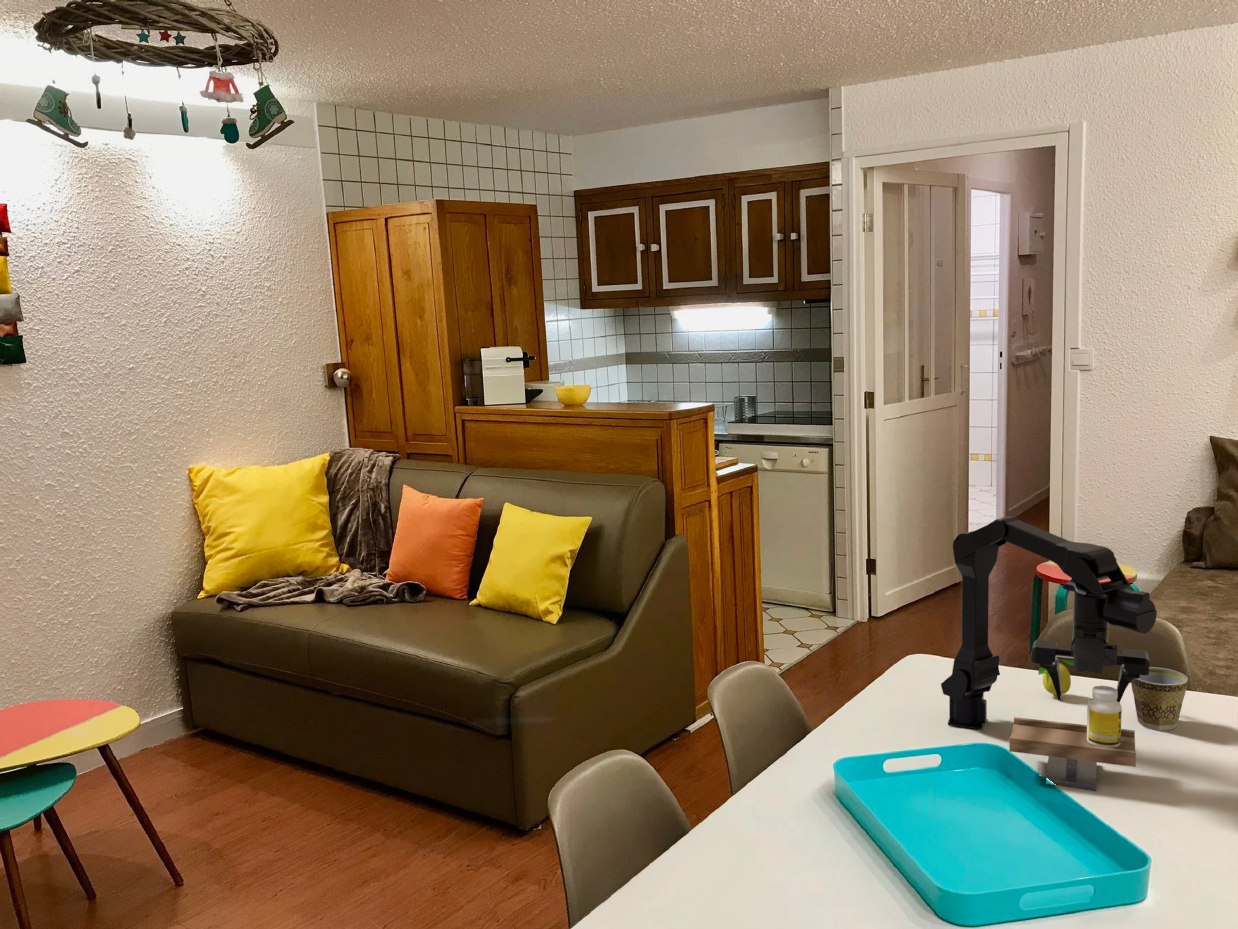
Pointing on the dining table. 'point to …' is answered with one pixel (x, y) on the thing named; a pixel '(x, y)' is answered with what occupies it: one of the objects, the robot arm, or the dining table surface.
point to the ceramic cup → (1159, 698)
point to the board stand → (1072, 773)
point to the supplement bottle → (1104, 718)
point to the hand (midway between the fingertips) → (1087, 702)
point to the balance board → (1068, 742)
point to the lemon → (1063, 677)
